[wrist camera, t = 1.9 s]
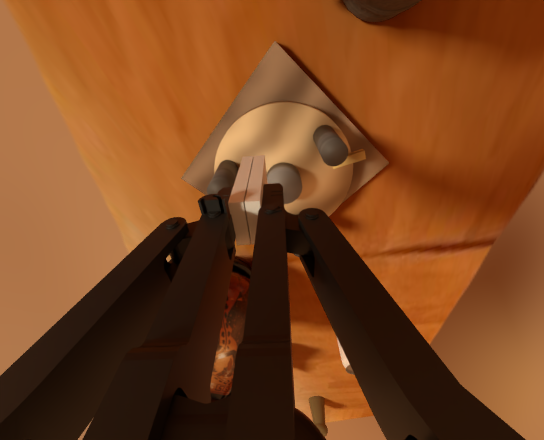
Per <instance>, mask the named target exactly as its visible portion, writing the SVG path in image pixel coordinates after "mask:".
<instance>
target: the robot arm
mask: <svg viewBox="0 0 544 440" xmlns="http://www.w3.org/2000/svg"><path fill="white" fill-rule="evenodd" d="M198 203H199V207H200V210H201V213H202V216H201V218H200V220H199V221H196V222H192V223H188V224H187V222H186V220H185V219H184V218H181V217H174V218H170V219H168V220H166V221H164V222H163V223H161V224H160V225H159V226H158V227H157V228H156V229H155V230H154V231H153V232H152V233H151V234H150V235H149V236H148V237H146V238H145V239H144V240H143V241H142V242H141V243H140V244H139V245H138V246H137V247H136V248H135V249H134V250H133V251H132V252H131V253H130V254H129V255H127V256H126V257H125V258H124V259H123V260H122V261H121V262H120V263H119V264H118V265H117V266H116V267H115V268H114V269H113V270H112V271H111V272H110V273H108V274H107V276H105V277H104V278H103V279H102V280H101V281H100V282H99V283H98V284H97V285H96V286H95V287H94V288H93V289H92V290H90V291H89V292H88V293H87V294H86V295H85V296H84V297H83V298H82V299H81V300H80V301H79V302H78V303H77V304H76V305H75V306H74V307H73V308H71V309H70V310H69V311H68V312H67V313H66V314H65V315H64V316H63V317H62V318H61V319H60V320H59V321H58V322H57V323H56V324H55V325H54V326H52V327H51V329H49V330H48V331H47V332H46V333H45V334H44V335H43V336H42V337H41V338H40V339H39V340H38V341H37V342H36V343H35V344H34V345H32V347H30V348H29V349H28V350H27V351H26V352H25V353H24V354H23V355H22V356H21V357H20V358H19V359H18V360H17V361H15V362H14V363H13V364H12V365H11V366H10V367H9V368H8V369H7V370H6V371H5V372H4V373H3V374H2V375H1V376H0V440H78V438H79V437H80V435H81V434H82V433H83V431H84V430H85V429H86V427H87V426H88V424H89V423H90V422H91V420H92V419H93V420H92V422H91V424H90V426H89V428H88V430H87V432H86V434H85V436H84V438H83V440H326V439H325V437H324V436H323V434H322V433H321V432H320V430H319V429H318V428H317V426H316V425H315V424H314V423H313V422H312V421H311V420H310V419H309V418H308V417H307V416H306V415H305V414H304V413H302V412H301V411H299V410H298V409H296V408H295V398H294V381H293V361H292V342H291V322H290V302H289V282H288V263H287V252H288V253H293V254H299V257H300V260H301V262H302V264H303V266H304V268H305V270H306V272H307V275H308V277H309V279H310V281H311V283H312V285H313V287H314V289H315V292H316V294H317V296H318V298H319V300H320V302H321V304H322V306H323V308H324V311H325V313H326V315H327V317H328V319H329V321H330V323H331V325H332V328H333V330H334V332H335V334H336V336H337V338H338V340H339V342H340V345H341V347H342V349H343V351H344V353H345V355H346V357H347V359H348V361H349V364H350V366H351V368H352V370H353V372H354V374H355V376H356V378H357V381H358V383H359V385H360V387H361V389H362V391H363V393H364V395H365V397H366V400H367V402H368V404H369V406H370V408H371V410H372V412H373V414H374V416H375V418H376V420H377V422H378V424H379V426H380V428H381V430H382V432H383V434H384V435H385V437H386V439H387V440H525V439H524V438H523V437H522V436H521V435H520V434H518V433H517V432H516V431H515V430H514V429H512V428H511V427H510V426H509V425H508V424H507V423H505V422H504V421H503V420H502V419H501V418H499V417H498V416H497V415H496V414H495V413H493V412H492V411H491V410H490V409H489V408H487V407H486V406H485V405H484V404H483V403H482V402H480V401H479V400H478V399H477V398H476V397H475V396H473V395H472V394H471V393H470V392H469V391H467V390H466V389H465V388H464V387H463V386H462V385H460V384H459V382H458V381H457V379H456V378H455V377H454V376H453V374H452V373H451V372H450V371H449V369H448V368H447V367H446V365H445V364H444V363H443V362H442V360H441V359H440V358H439V357H438V355H437V354H436V353H435V352H434V350H433V349H432V348H431V346H430V345H429V344H428V343H427V341H426V340H425V339H424V338H423V336H422V335H421V334H420V332H419V331H418V330H417V329H416V327H415V326H414V325H413V324H412V322H411V321H410V320H409V318H408V317H407V316H406V315H405V313H404V312H403V311H402V310H401V308H400V307H399V306H398V305H397V303H396V302H395V301H394V299H393V298H392V297H391V296H390V294H389V293H388V292H387V291H386V289H385V288H384V287H383V285H382V284H381V283H380V282H379V280H378V279H377V278H376V277H375V275H374V274H373V273H372V271H371V270H370V269H369V268H368V266H367V265H366V264H365V263H364V261H363V260H362V259H361V258H360V256H359V255H358V254H357V252H356V251H355V250H354V249H353V247H352V246H351V245H350V244H349V242H348V241H347V240H346V238H345V237H344V236H343V235H342V233H341V232H340V231H339V230H338V228H337V227H336V226H335V225H334V223H333V222H332V221H331V219H330V218H329V217H328V216H327V214H326V213H325V212H324V211H323V210H320V209H318V208H307V209H304V210H302V211H300V212H299V214H298V215H295V214H291V213H289V212H287V211H286V210H285V208H284V195H283V186H282V185H281V184H280V183H273V184H268V183H267V173H266V163H265V155H260V156H254V158H253V156H247V157H243V158H242V161H241V164H240V167H239V170H238V173H237V176H236V180H235V183H234V186H233V187H225V188H222V189H221V190H220V191H218V193H217V194H209V195H206V196H203V197H202V198H200V199H199V200H198ZM235 238H236V243H237V245H250V244H251V243H252V244H254V252H253V260H252V268H251V277H250V285H249V293H248V302H247V310H246V318H245V326H244V335H243V340H242V343H240V344H239V346H238V348H237V353H236V359H235V367H234V374H233V381H232V388H231V396H229V397H226V398H223V399H220V400H217V401H214V402H211V391H210V385H211V377H212V372H213V367H214V362H215V357H216V351H217V346H218V341H219V336H220V331H221V325H222V320H223V315H224V310H225V305H226V299H227V294H228V289H229V284H230V279H231V273H232V268H233V263H234V258H235V253H236V249H235V244H234V243H235ZM169 254H170V256H171V258H172V259H171V260H170V261H169V262H167V260H166V258H167V256H168V255H169ZM93 417H94V418H93Z"/></svg>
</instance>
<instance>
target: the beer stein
mask: <svg viewBox="0 0 544 440" xmlns="http://www.w3.org/2000/svg"><path fill="white" fill-rule="evenodd" d="M420 1H421V0H343V2H344V3H345V5H346V7H347V8H348V10H349V11H350V12H351V13H353V14H354V15H355V16H356V17H357V18H359V19H362V20H364V21H368V22H381V21H384V20H387V19H390V18H392V17H394V16H396V15H397V14H399V13H401V12H403V11H405V10H408V9H409V8H411V7H413V6H414V5H416V4H417V3H418V2H420Z"/></svg>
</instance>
